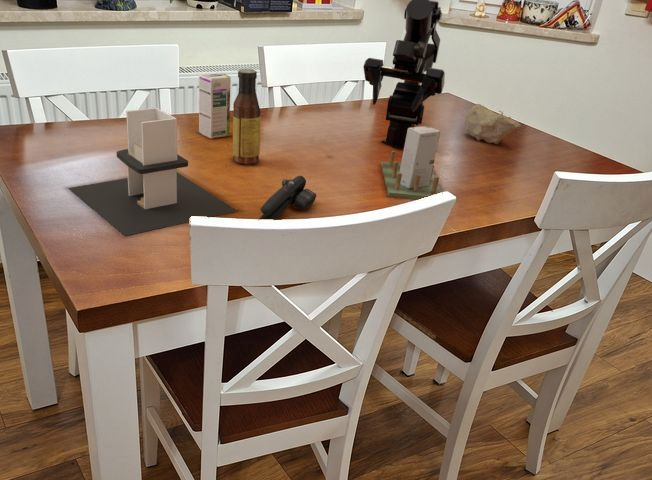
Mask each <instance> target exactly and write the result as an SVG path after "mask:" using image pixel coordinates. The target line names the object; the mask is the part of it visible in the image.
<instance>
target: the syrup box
mask: <svg viewBox="0 0 652 480" xmlns="http://www.w3.org/2000/svg"><path fill="white" fill-rule="evenodd" d="M231 82H232V80H231V76H229V75H227V74H226V73H223V72H219V71H215V72H209V73H208V72H207V73H199V74H198V132H199V133H200V134H201V135H202V136H204V137H206V138H208V139H216V138H223V137H224V138H225V137H230V126H231V125H230V124H231V123H230V121H231Z"/></svg>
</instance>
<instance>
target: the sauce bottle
mask: <svg viewBox="0 0 652 480" xmlns="http://www.w3.org/2000/svg"><path fill="white" fill-rule="evenodd" d="M257 75H258V73H257V70H255V69H252V68H242V69H238V71H237V77H238V89H237V90H238V93H237V95H236V97H235V99H234V101H233V107H232V108H233V111H232V112H233V115H232V155H233V161H234V162H235V163H238V164H240V165H248V166H249V165H250V166H251V165H255V164H257V163H258V162H259V160H260V154H261V153H260V152H261V119H262V117H261V116H262V115H261V114H262V111H261V107H260V104H259V99H258V95H257V89H256V87H257V86H256V85H257V84H256V83H257V78H258V76H257Z"/></svg>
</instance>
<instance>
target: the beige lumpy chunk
mask: <svg viewBox="0 0 652 480" xmlns="http://www.w3.org/2000/svg"><path fill="white" fill-rule="evenodd" d="M464 124H465V128H466V130H467V132H468V135H470V136H471V137H473V138H475V139H476V140H477V141H478V142H480V141H481V140H483V141H485V143H487V144H494V145H498V144H499V143H500V142H501V140H502V139H504V137H506V136H507V135H508V134H509V133H512V132H513V131H516V130H519V129H520V128H521V127H522V124H520V123H519V122H518V121H517V120H513V119H512V117H511V116H506V115H505V114H504V111H501V110H498V113H497V112H494V111H492V110H491V109H489V108H487V107H486V106H485V105H482V104H481V103H476V104H475V105H473V106H472V107H471V108H469V110H468V111H467V112H466V115H465V121H464Z"/></svg>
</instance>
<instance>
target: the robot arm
mask: <svg viewBox="0 0 652 480" xmlns="http://www.w3.org/2000/svg"><path fill="white" fill-rule="evenodd" d="M439 3H440V2H439V1H436V0H435V1H434V0H410V1H409V2H408V4H406V7H405V10H404V15H403V19H404V20H405V25H404V26H405V27H404V28H405V35H404V38H403V40H401V39H397V40H396V41H395V44H394V48H393V51H392V56H393V59H392V65H393V67H390V66H386V65H384V59H379V58H374V57H367V58H366V59H365V61H364V63H363V67H362V68H363V74H364V80H365V81H366V82H367V83H368V84H369V85H370V86H372V105H373V106H375V105H376V104H377V102H378V98H379V95H380V91H381V89H382V82H383V79H384V77H388V78H392V79H393V78H394V79H399V80H401V81H398V82H397V83H396V85H395V88H394V90H393V92H392V95H389V97H388V101H387V107H386V115H385V121H389V124H388V126H387V132H386V137H385V139H381V142H382V144H385V145H388V146H390V147H392V148H394V149H398V150H402V149H404V146H405V141H406V136H407V130H408V128H413V127H415V125H416V126H418V125H422V124H423V123H422V122H423V118H424V112H425V106H424V102H425V101H426V100H427V99H429V98H430V97H435V96H436V94H437V95H440V94H442V92H443V90H444V87H445V79H446V77H445V75H446V73H445V70H444V69H440V68H436V67H435V68H434V67H433V66H434V64H436V63H437V60H438V55H439V50H440V44H441V38H440V36H439V33H438V31H437V25H438V23H439V22H440V21H441V19H442V16H443V12H442V9H441V7H440V6H439ZM430 38H431V41H432V43H429V41H430ZM402 81H403V82H402Z"/></svg>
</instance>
